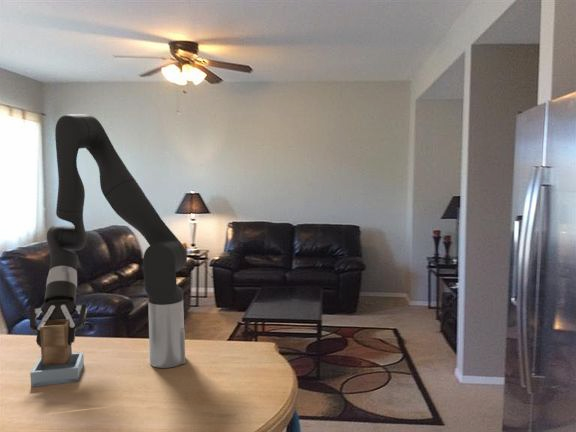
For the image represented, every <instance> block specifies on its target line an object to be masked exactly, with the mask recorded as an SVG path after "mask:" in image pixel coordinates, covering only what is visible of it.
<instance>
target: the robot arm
mask: <svg viewBox="0 0 576 432" xmlns="http://www.w3.org/2000/svg"><path fill="white" fill-rule="evenodd" d="M54 136H55V140H54V141H55V150H56V162H57V164H56V165H57V174H58V175H57V176H58V177H57V178H58V187H57V188H58V189H57V198H56V199H57V200H56V210H55V214H56V216H57V218H58V219H61V220H63V221H66V222H68V223H70V224H72V225H64V224H63V225H62V224H54V225H52V226H50V228H48V229H47V233H46V243H47V246H48V249H49V255H50V261H49V269H48V270H49V271H48V275H47V277H46V284H45V292H44V301H43V305H42V306H41V307H38V308H35V307H33V306H32V307H29V328H30V331H31V332H32V333H37V334H36V338H35V340H36V341H35V342H36V344H37V346H39V348H41V337H40V326H41V325H42V323H43V322H44V321H46V323H47V324H48V320H54V319H65V318H66V320H70V321H69V326H70V328H69V332H68V345H71V346H72V345H73V344H72V343H74V342H75V341H76V340H75V339H76V331H77V330H82V329H84V327H85V323H86V319H87V314H88V307H87V304H85V303H83V304H81V305H77V304H76V300H77V299H76V298H77V288H78V264H79V263H78V262H79V260H78V259H79V258H78V255H77V254H76V253H75V252H74V251H81V250H83V249H84V247H86V245H87V233H86V228H85V224H84V206H85V198H86V196H85V194H86V192H85V191H86V189H85V186H84V183H83V180H82V178H81V175H80V173H79V170H78V164H77V163H78V161H77V159H78V155H79V154H78V153H79V149H86V150H87V152H89V154H90V155H91V156H92V158H93V159H94V161H95V163H96V165H97V167H98V173H99V184H100V185H99V186H100V190H101V192H102V194H103V196H104V198H105V200H106V201H107V203H108V204H109V206H110V207H111V209H112V210H113V211H114V212H115V214H116V215H118V217H120V218H121V219H122V220H123V221H124V222H126V223H127V224H128V225H130V226H131V227H133V228H134V229H135V230H136V231H138V232H139V234H141V236H143V238H144V239H145V241H146V242H147V243H148V245H149V246H148V247H147V248H146V249H145V251H144V254H143V259H142V271H143V272H142V273H143V283H144V291H145V293H146V294H147V301H148V303H147V304H148V309H147V310H148V338H149V339H148V340H149V342H148V343H149V364H150V366H152V367H153V368H159V369H168V368H173V367H178V366H180V365H184V364H186V342H185V341H186V333H185V322H184V321H185V320H184V318H185V316H184V315H185V311H184V290H183V288H181V287H180V286H178V285H177V284H178V282H177V272H179V271H181V270H182V269H184V268H185V266H186V264H187V261H188V253H187V251H186V248H185V247H184V245H183V244H182V242H181V241H180V239H178V237H177V236H176V235H175V234H174V233H173V231H172V230H171V229H170V228H169V226H167V224H166V223H165V222H164V220H163V219H162V217H161V216H160V214H159V213H158V211H157V210H156V209H155V207H154V205H152V203H151V201H150V200H149V199H148V197H147V196H146V194H145V193H144V191H143V189H142V188H141V186H140V185H139V183H138V181H137V180H136V178H134V176H133V175H132V173H131V172H130V171H129V169H128V168H127V166H126V164H125V163H124V161H123V160H122V158H121V157H120V155H119V153H118V152H117V151H116V149H115V147H114V145H113V143H112V142H111V140H110V138H109V136H108V134H107V132H106V130H105V129H104V127H103V125H102V123H101V122H100V121H99V120H98V119H97V117H96V116H93V115H91V114H85V113H83V114H82V113H81V114H80V113H79V114H76V113H75V114H74V113H71V114H64V115H62V116H60V117H59V118H58V120H57V122H56V124H55V132H54ZM76 311H77V314H78V315H79V316H78V320H77V322H74V321H73V317H72V316H73V315H74V314H75V313H76ZM41 313H42V315H44V316H43V317H42V319H41V322H40V323H39V325H38V322H37V318H39V317H40V314H41Z"/></svg>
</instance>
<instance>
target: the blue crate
mask: <svg viewBox="0 0 576 432" xmlns="http://www.w3.org/2000/svg"><path fill="white" fill-rule="evenodd" d="M84 362H85V357H84V352H83V351H82V352H72V356H71V358H70V361H69V363H68V364H62V365H52V366H42V359H41V356H39V357H38V359H37V360H36V362H35V364H34V366H33V367H32V369H31V371H30V373H29V375H30V377H29V378H30V387H32V388H33V387H39V386H49V385H51V386H52V385H58V384H68V383H69V384H70V383H76V382H79V381H80V377H81V374H82V371H83V368H84V366H85V365H84V364H85V363H84Z"/></svg>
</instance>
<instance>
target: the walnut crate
mask: <svg viewBox="0 0 576 432" xmlns="http://www.w3.org/2000/svg"><path fill="white" fill-rule="evenodd" d="M69 321H70V320H66V318H65V319H54V320H48V324H47V323H46V321H44V322H43V323H42V325H41V326H40V337H41V347H40V352H41V353H40V355H41V359H42V366H52V365H62V364H68V363H69V361H70V358H71V356H72V353H73V352H72V345H68V332H69V328H70V326H69Z"/></svg>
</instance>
